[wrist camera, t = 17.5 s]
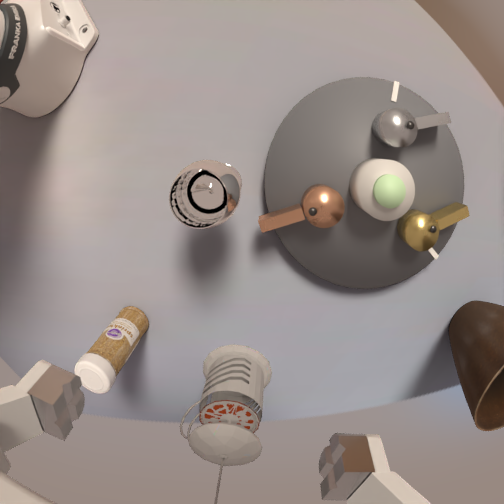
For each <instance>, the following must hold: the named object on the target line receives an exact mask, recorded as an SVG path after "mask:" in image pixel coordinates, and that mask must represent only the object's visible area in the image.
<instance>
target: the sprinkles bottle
mask: <svg viewBox="0 0 504 504" xmlns="http://www.w3.org/2000/svg"><path fill="white" fill-rule="evenodd" d="M148 325H149V323H148V319H147V317H146V315H145V314H144V313H143V312H142V311H141V310H139V309H138V308H136V307H131V306H129V307H125V308H123V309H122V310H121V311H120V313H119V315H118V316H117V317H116V318H115V319H114V320H113V321H112V322H111V323H110V324H109V326H108V327H107V328H106V329H105V330H104V332H103V333H102V334H101V336H100V337H99V338H98V340H97V341H96V342H95V343H94V345H93V346H92V347H91V348H90V350H89V351H88V352H87V353H86V354H84V355H83V356H82V357H81V358H80V359H79V361H78V362H77V363H76V365H75V375H77V376H79V377H81V382H82V385H83V386H84V387H85V388H86V389H88V390H90V391H92V392H94V393H98V394H103V393H106V392H108V391H109V390H110V388H111V387H112V385H113V384H114V382H115V380H116V376H117V374H118V373H119V371H120V370H121V368H122V367H123V366H124V364H125V363H126V361H127V360H128V358H129V357H130V355H131V354H132V352H133V351H134V349H135V347H136V346H137V344H138V343H139V341H140V338H141V337H142V335H143V334H144V333H145V332H146V330H147V329H148Z"/></svg>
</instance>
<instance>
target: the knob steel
mask: <svg viewBox="0 0 504 504" xmlns="http://www.w3.org/2000/svg"><path fill="white" fill-rule="evenodd" d="M448 123H451V120H450V116H449V112H445V113H439V114H433V115H428V116H422V117H417V118H414V117H413V116H412V114H411V113H409V112H408V111H407V110H405V109H402V108H393V109H389V110H386V111H383V112H380V113H379V114H378V115H377V116H376V117H375V118H374V121H373V125H372V129H373V134H374V136H375V138H376V139H377V141H378V142H379V143H381V144H382V145H384V146H387V147H406V146H409V145H410V144H412V143H413V142H414V140H415V139H416V136H417V130H418V129H423V128H428V127H433V126H438V125H443V124H448Z"/></svg>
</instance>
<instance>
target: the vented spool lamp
mask: <svg viewBox="0 0 504 504" xmlns="http://www.w3.org/2000/svg"><path fill="white" fill-rule="evenodd" d="M203 373H204V375H205V377H206V383H205V387H204V390H203V394H202V398H201V400H200V401H198V402H197V403H195V404H194V405H192V406H191V407H190V408H189V409H188V411H187V412H186V413H185V415H184V416H183V418H182V421H181V424H180V432H181V435H182V436H183V437H184V438H186V439H188V441H189V445H190V447H191V448H192V450H193V451H194V453H196V454H197V455H198V456H200V457H201V458H203V459H204V460H207V461H210V462H212V463H215V464H218V465H221V468H220V473H219V480H218V486H217V492H216V498H215V504H217V498H218V492H219V486H220V480H221V473H222V467H223V466H233V465H243V464H246V463H249V462H252V461H254V460H255V459H256V458H258V457H259V456H260V454H261V450H262V446H261V443H260V441H259V438H258V437H257V436H256V435H255V434H253V433H254V432H255V431H256V430H257V429H258V426H259V423H260V421H261V417H262V408H263V389H264V388H265V387H266V386H267V384H268V383H269V382H270V379H271V374H272V371H271V367H270V364H269V361H268V360H267V359H266V358H265V357H264V356H263V355H262V354H261V353H260V352H258V351H256V350H254V349H252V348H250V347H247V346H240V345H228V346H222V347H219V348H217V349H216V350H214V351H212V352H210V353H209V355H208V356H207V358H206V359H205V361H204V365H203ZM211 386H213V387H212V388H210V387H211ZM211 393H213V394H212V398H211V402H210V404H208V405H206V403H207V399H208V395H209V394H211ZM252 399H254V401H252V402H251V403H250V404H249V405H245V404H244V403H247V402H250V401H251V400H252ZM254 402H257V403H256V404H255V405H254V406H253V407H252V408H250V406H251V405H252V404H253V403H254ZM199 403H200V411H199V412H200V413H199V414H198V415H197V416H196V417H195V418H194V419H193V420H192V422H191V424H190V425H189V429H188V432H187V436H188V437H186V436H185V435H184V434H183V431H182V424H183V422H184V419H185V416H186V415H187V414H188V412H189V411H190V410H191V409H192V408H193V407H194V406H195V405H197V404H199ZM258 404H259V406H258V407H257V409H256V410H255V411H253V409H254V408H255V407H256V406H257V405H258ZM259 408H261V410H260V411H259V412H258V414H256V412H257V411H258V409H259ZM199 415H200V422H201V423H202V425H201V426H199V427H197V428H196V429H195V430H194V431H193V432H192V433H191V434H190V435H189V432H190V429H191V426H192V424H193V422H194V421H195V419H196V418H197V417H198V416H199Z"/></svg>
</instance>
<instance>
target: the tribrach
mask: <svg viewBox="0 0 504 504" xmlns="http://www.w3.org/2000/svg"><path fill="white" fill-rule="evenodd" d="M393 108H402V109H405V110H407V111H408V112H409V113H411V114H412V116H413V117H414V118H417V117H422V116H428V115H433V114H439V113H438V112H437V111H436V110H435V109H434V108H433V107H432V106H431V105H430V104H429V103H428V102H427V101H425V100H424V99H423V98H422V97H421V96H419V95H418V94H416V93H414V92H413V91H411V90H410V89H408V88H406V87H403V86H401V85H399V82H396V81H394V82H390V81H387V80H383V79H377V78H370V77H356V78H349V79H342V80H339V81H336V82H332V83H329V84H327V85H325V86H323V87H321V88H318V89H316V90H315V91H313V92H312V93H310V94H309V95H307V96H306V97H304V98H303V99H302V100H301V101H300V102H299V103H298V104H297V105H296V106H294V107H293V109H292V110H291V111H290V112H289V113H288V115H287V116H286V117H285V118H284V120H283V122H282V123H281V125H280V126H279V128H278V130H277V131H276V134H275V136H274V138H273V141H272V143H271V146H270V149H269V153H268V156H267V161H266V168H265V196H266V204H267V208H268V211H269V213H270V212H274V211H277V210H280V209H283V208H286V207H290V206H293V205H296V204H300V205H301V199H302V196H303V194H304V192H305V191H306V190H307V189H308V188H309V187H310V186H312V185H315V184H325V185H327V186H329V187H331V188H332V189H334V190H336V191H337V192H338V193H339V194H340V195H341V197H342V198H343V201H344V205H345V209H344V214H343V216H342V218H341V220H340V221H339V222H338V223H337V224H336V225H334V226H332V227H329V228H319V227H316V226H314V225H312V224H311V223H310V222H309V221H308V219H307V218H306V216H305V214H304V212H303V214H304V217H305V220H302V221H299V222H296V223H292V224H289V225H286V226H283V227H279V228H276V229H275V231H276V233H277V234H278V236H279V238H280V240H281V241H282V243H283V245H284V246H285V247H286V249H287V250H288V251H289V253H290V254H291V255H292V256H293V257H294V258H295V259H296V260H297V261H298V262H299V263H300V264H301V265H302V266H304V267H305V268H306V269H307V270H309V271H310V272H311V273H313V274H315V275H317V276H318V277H320V278H322V279H324V280H326V281H329V282H331V283H333V284H337V285H341V286H344V287H350V288H357V289H372V288H380V287H385V286H389V285H393V284H396V283H398V282H401V281H403V280H406V279H408V278H410V277H411V276H413V275H415V274H416V273H418V272H419V271H421V270H422V269H423V268H425V267H426V266H427V265H428V264H429V263H430V262H432V261H433V260H434V259H435V260H436V259H437V258H438V257H439V256H438V254H439V253H440V252H441V250H442V249H443V248H444V247H445V245H446V243H447V242H448V240H449V239H450V237H451V235H452V233H453V231H454V229H455V227H456V224H457V222H456V223H454V224H452V225H450V226H448V227H446V228H444V229H442V230H439V236H438V239H437V242H436V243H435V245H434V246H433V247H432V248H430V249H429V250H427V251H417V250H415V249H413V248H412V247H411V246H409V245H408V244H407V243H405V242H404V241H403V240H402V239H401V238H400V237H399V234H398V231H397V225H398V221H399V219H400V217H402V216H403V215H404V214H405V213H406V212H407V211H408V210H411V209H417V210H419V211H422V212H424V213H426V214H428V215H429V214H431V213H433V212H435V211H437V210H440V209H442V208H444V207H446V206H448V205H450V204H452V203H455V202H458V203H461V204H462V203H463V195H464V173H463V166H462V160H461V156H460V153H459V149H458V146H457V144H456V141H455V139H454V137H453V135H452V133H451V131H450V129H449V127H448V126H447V124H443V125H438V126H433V127H428V128H423V129H418V130H417V136H416V139H415V140H414V142H413V143H412V144H410V145H409V146H406V147H387V146H384V145H382V144H381V143H379V142H378V141H377V139H376V138H375V136H374V134H373V129H372V125H373V121H374V118H375V117H376V116H377V115H378V114H379V113H380V112H383V111H386V110H389V109H393Z"/></svg>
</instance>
